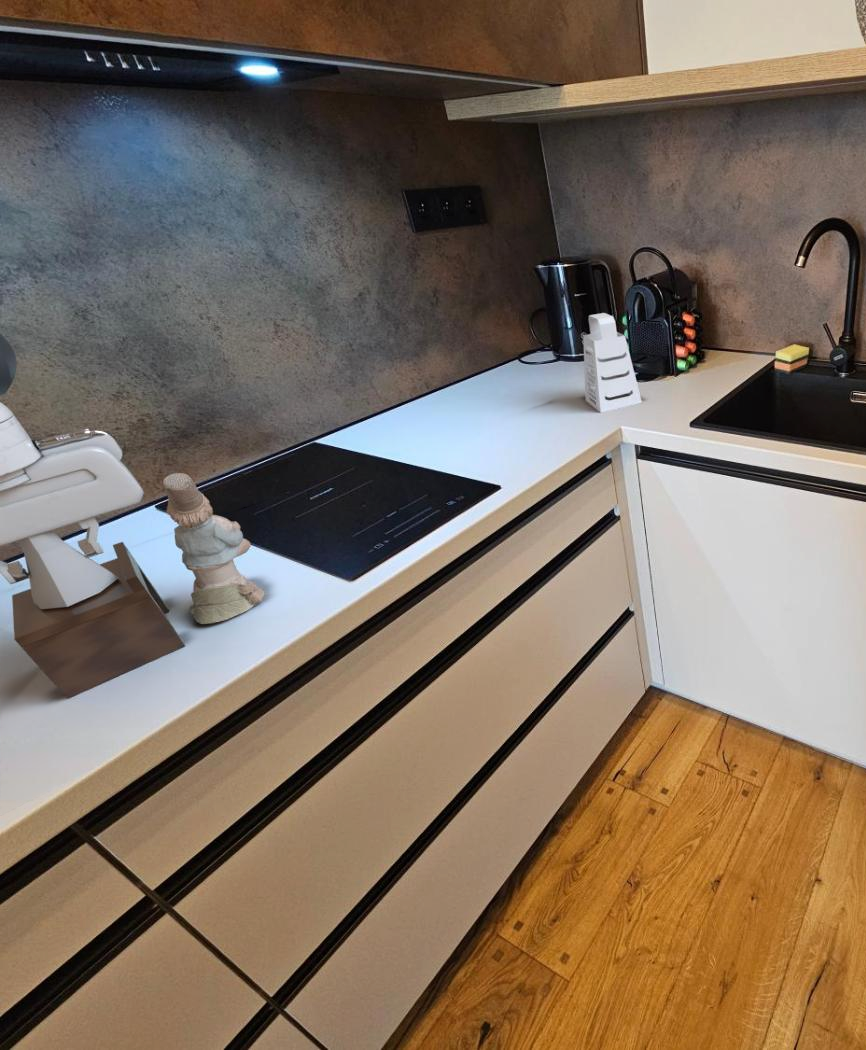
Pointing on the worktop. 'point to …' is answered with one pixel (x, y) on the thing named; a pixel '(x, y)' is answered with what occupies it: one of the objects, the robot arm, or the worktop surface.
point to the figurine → (209, 553)
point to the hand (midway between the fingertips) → (58, 566)
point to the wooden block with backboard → (97, 630)
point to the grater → (608, 366)
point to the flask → (61, 572)
